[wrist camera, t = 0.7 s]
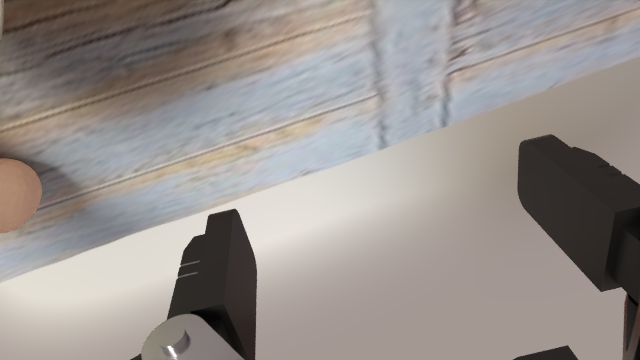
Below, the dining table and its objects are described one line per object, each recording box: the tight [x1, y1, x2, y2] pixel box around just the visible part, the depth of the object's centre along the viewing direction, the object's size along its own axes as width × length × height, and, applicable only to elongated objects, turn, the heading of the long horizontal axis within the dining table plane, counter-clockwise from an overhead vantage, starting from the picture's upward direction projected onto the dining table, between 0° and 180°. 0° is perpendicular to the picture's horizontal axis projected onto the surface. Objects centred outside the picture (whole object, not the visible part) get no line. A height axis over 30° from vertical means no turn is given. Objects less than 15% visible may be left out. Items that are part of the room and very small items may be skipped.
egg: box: [0, 158, 42, 233], centre depth 39 cm, size 6×6×8 cm
